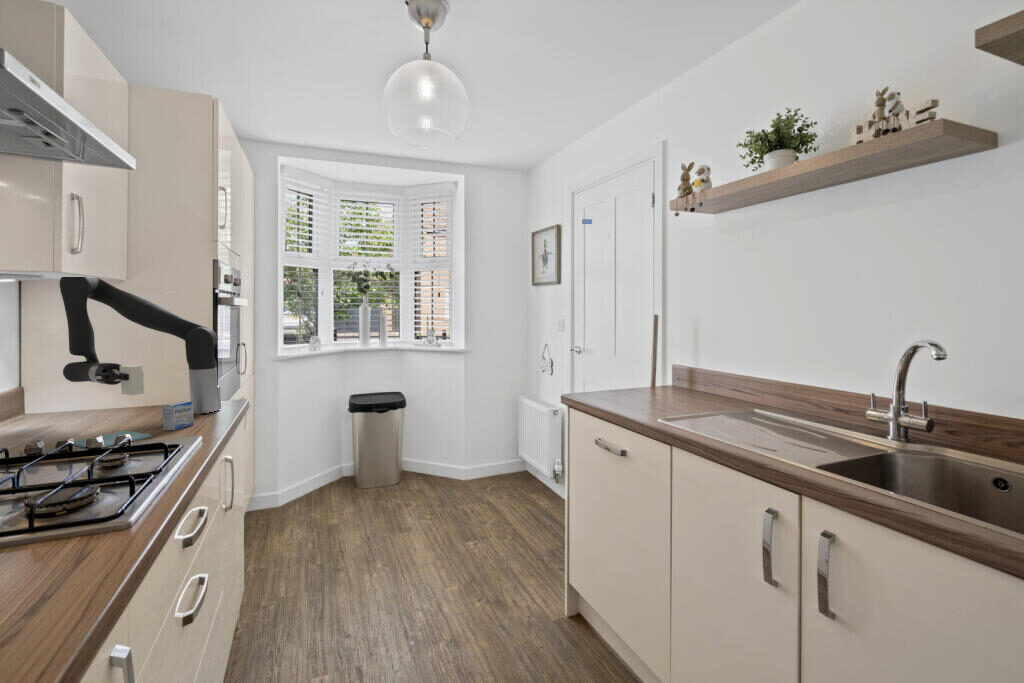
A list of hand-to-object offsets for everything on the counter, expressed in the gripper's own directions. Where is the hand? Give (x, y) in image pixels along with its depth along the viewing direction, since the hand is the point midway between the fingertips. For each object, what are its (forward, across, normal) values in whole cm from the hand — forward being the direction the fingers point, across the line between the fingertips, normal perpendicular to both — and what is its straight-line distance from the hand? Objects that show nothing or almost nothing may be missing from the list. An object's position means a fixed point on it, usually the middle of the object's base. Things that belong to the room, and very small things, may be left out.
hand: (134, 376), depth 163 cm
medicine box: (+11, +7, +18) cm, 22 cm away
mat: (+8, -12, +18) cm, 23 cm away
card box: (-2, 0, +6) cm, 6 cm away
